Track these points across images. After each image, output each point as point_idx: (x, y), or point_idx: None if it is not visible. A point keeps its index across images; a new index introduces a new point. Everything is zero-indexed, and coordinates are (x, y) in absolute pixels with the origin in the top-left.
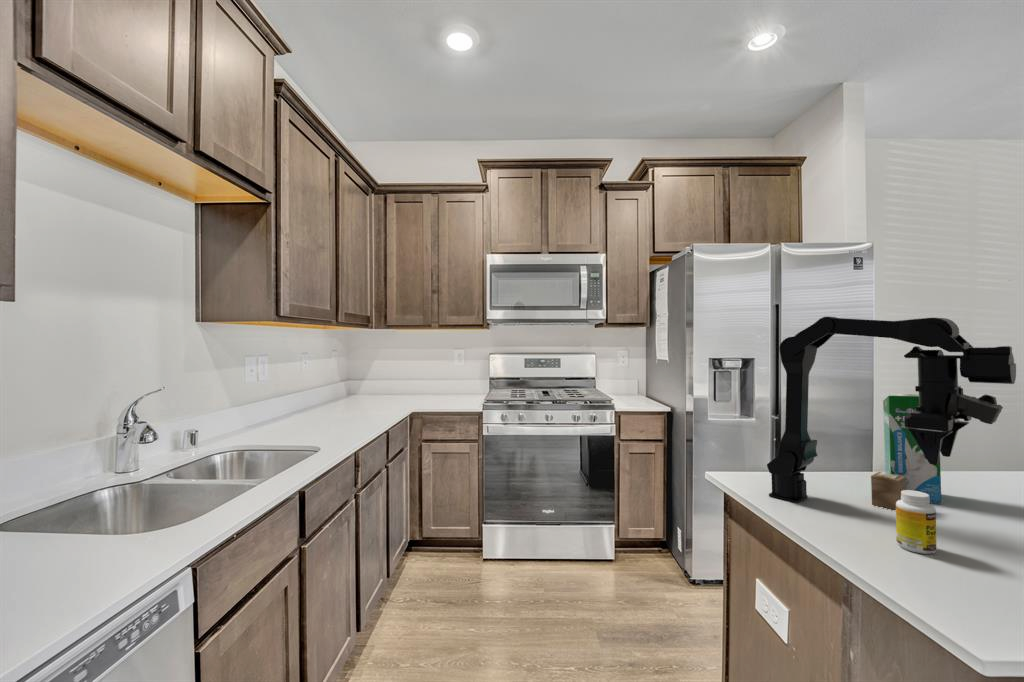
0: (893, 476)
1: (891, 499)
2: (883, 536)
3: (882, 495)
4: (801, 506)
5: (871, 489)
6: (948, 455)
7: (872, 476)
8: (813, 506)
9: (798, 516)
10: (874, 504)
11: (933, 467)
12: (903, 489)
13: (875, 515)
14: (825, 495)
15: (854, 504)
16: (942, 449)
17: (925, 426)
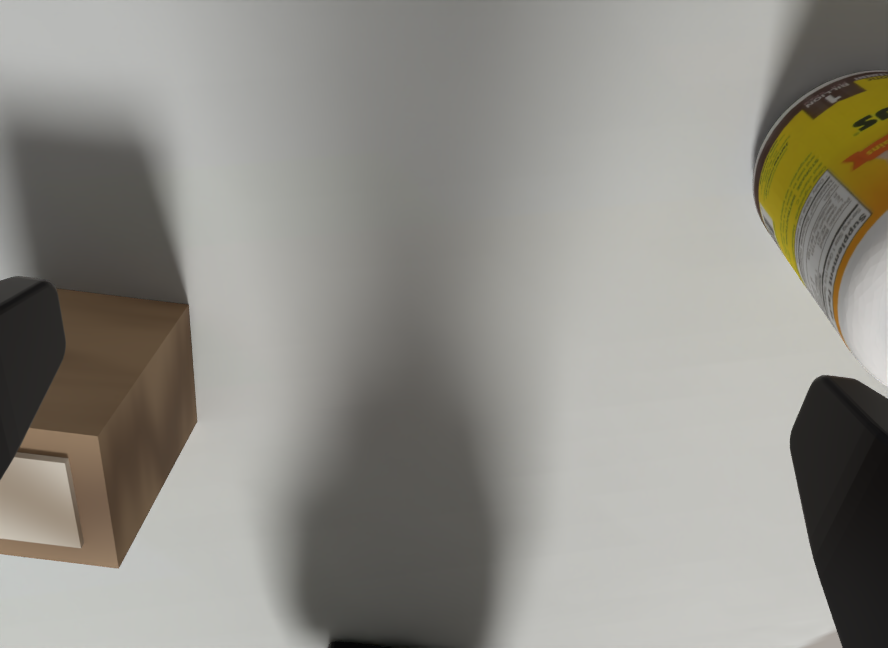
0: (17, 473)
1: (163, 378)
2: (734, 314)
3: (163, 427)
4: (500, 633)
5: (157, 492)
6: (49, 301)
7: (117, 559)
8: (457, 601)
9: (672, 618)
10: (193, 418)
11: None
12: None
13: (371, 387)
14: (215, 593)
15: (253, 483)
16: (5, 419)
17: None
